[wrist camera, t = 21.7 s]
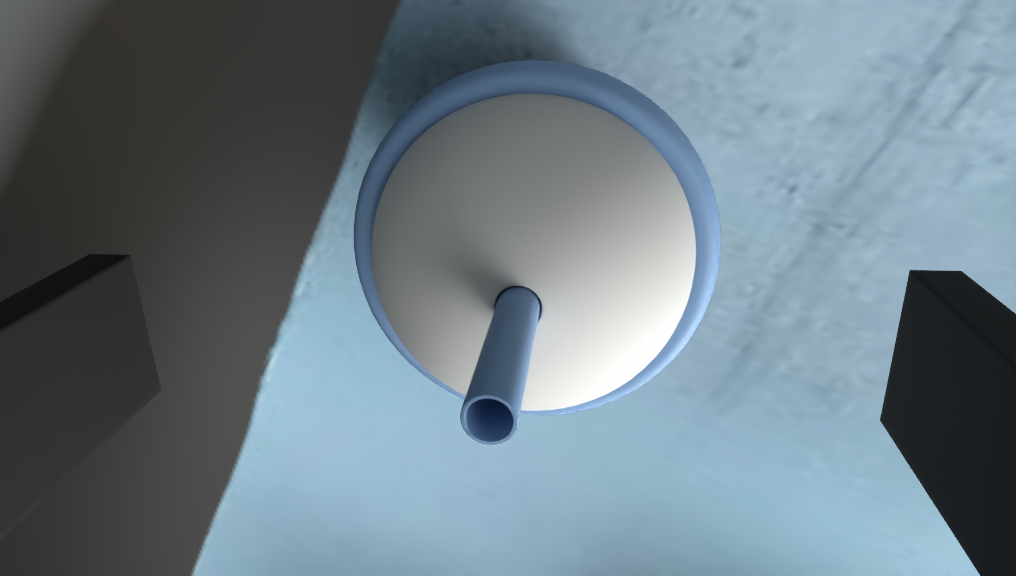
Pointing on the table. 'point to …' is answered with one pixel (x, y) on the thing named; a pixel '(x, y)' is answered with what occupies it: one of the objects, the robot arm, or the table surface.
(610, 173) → the cup with straw
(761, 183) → the table surface
